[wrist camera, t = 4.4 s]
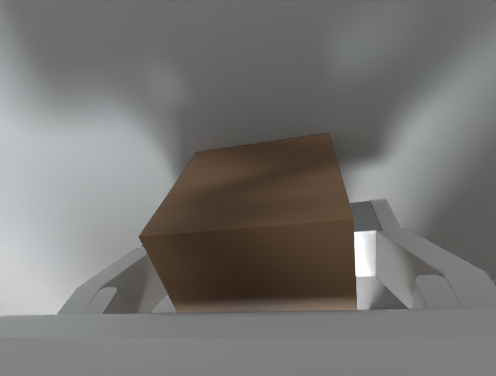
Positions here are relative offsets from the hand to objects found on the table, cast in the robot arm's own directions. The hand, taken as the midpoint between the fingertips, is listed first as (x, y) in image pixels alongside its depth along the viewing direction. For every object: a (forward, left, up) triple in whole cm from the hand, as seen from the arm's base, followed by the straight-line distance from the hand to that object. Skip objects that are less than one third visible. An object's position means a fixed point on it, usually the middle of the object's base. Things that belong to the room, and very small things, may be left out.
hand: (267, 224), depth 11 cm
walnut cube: (0, 0, -2) cm, 2 cm away
